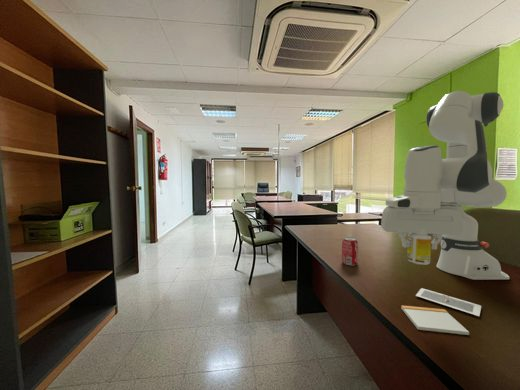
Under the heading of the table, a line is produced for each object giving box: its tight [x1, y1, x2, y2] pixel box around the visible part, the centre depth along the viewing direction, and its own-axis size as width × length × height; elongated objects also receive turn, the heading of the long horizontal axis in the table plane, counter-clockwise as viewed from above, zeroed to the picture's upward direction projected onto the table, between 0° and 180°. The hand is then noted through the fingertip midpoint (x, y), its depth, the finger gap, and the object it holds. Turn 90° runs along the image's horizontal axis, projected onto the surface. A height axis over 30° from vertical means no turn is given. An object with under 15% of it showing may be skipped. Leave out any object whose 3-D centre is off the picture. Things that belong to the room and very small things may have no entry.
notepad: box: [400, 305, 470, 336], centre depth 60 cm, size 12×10×1 cm
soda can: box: [341, 236, 359, 267], centre depth 102 cm, size 7×7×12 cm
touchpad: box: [415, 287, 482, 317], centre depth 69 cm, size 8×15×2 cm, turn 42°
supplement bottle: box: [406, 229, 432, 266], centre depth 64 cm, size 6×6×10 cm
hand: (418, 248), depth 64 cm, fingers closed on supplement bottle, 6 cm apart
